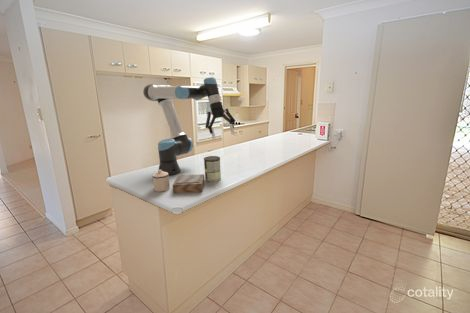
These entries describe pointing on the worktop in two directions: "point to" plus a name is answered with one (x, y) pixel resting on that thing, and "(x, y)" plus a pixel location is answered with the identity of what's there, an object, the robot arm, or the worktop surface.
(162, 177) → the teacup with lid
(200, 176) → the riser block
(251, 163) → the worktop surface
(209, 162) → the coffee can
